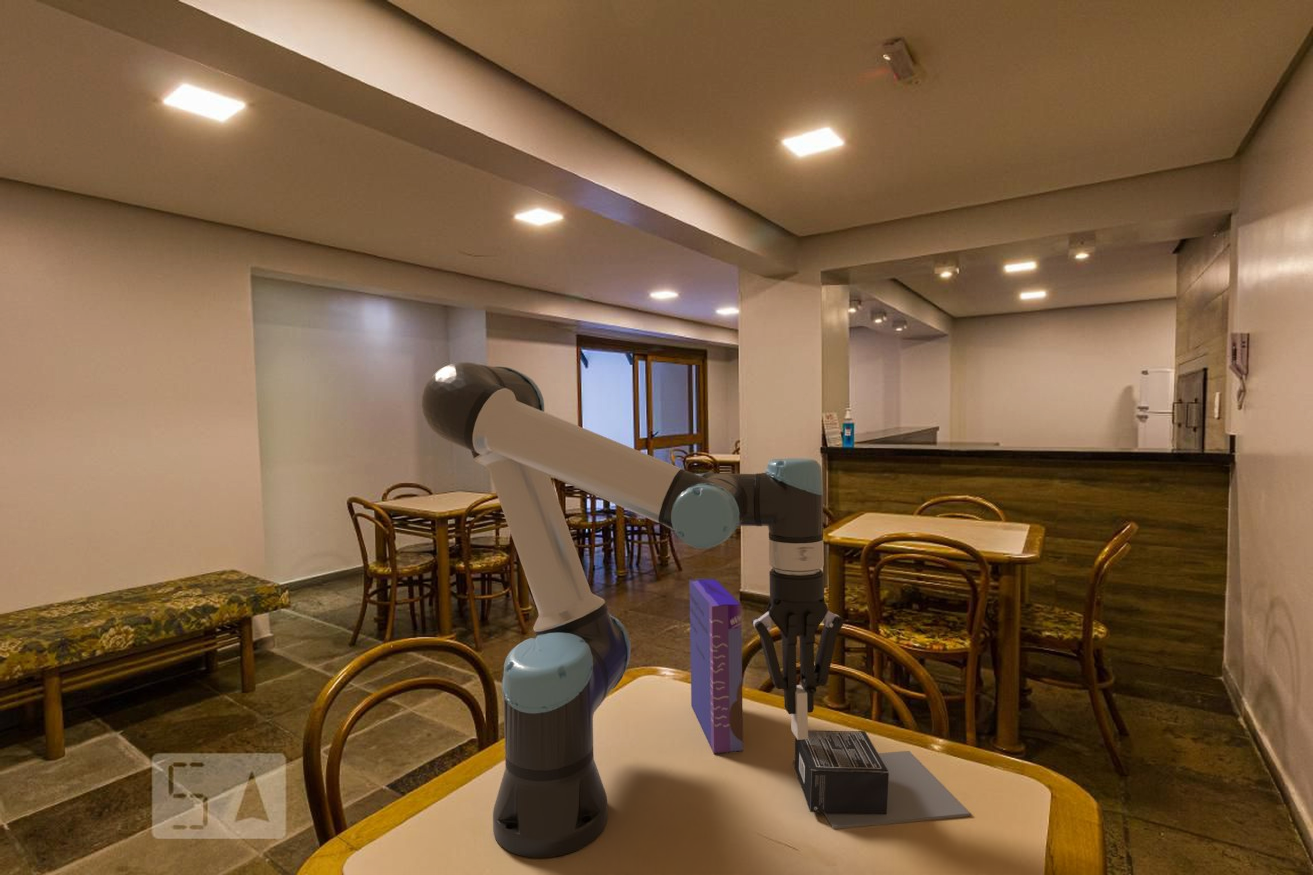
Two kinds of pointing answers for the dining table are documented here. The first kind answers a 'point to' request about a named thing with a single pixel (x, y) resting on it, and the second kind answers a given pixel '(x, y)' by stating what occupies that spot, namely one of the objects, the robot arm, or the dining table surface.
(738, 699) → the cereal box
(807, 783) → the small box
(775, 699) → the dining table surface
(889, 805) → the mat
